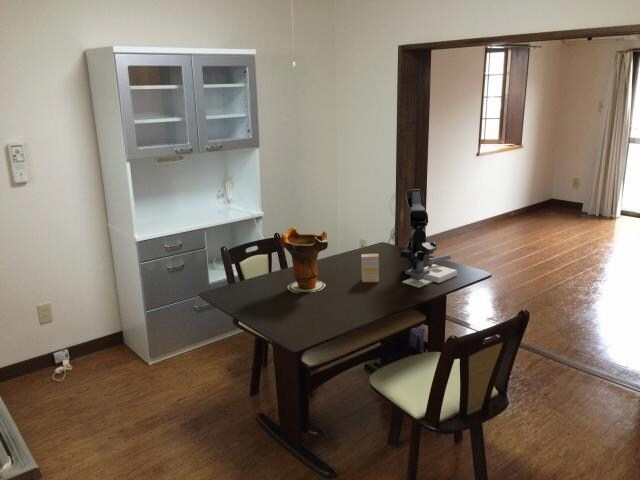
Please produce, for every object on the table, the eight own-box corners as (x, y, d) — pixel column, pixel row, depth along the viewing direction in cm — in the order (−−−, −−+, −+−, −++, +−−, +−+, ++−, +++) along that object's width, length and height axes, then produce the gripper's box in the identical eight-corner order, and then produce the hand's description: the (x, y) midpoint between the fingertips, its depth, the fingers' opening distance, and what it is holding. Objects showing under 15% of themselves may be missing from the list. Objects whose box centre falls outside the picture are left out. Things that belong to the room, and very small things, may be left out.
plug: (405, 278, 255) (405, 261, 253) (416, 274, 260) (416, 257, 258) (418, 282, 249) (418, 265, 247) (429, 278, 254) (429, 260, 252)
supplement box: (379, 279, 262) (378, 253, 259) (379, 282, 258) (378, 256, 254) (361, 279, 263) (361, 253, 259) (361, 282, 258) (361, 256, 255)
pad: (402, 283, 256) (402, 281, 256) (415, 277, 262) (415, 276, 262) (418, 288, 248) (418, 286, 248) (432, 282, 255) (432, 281, 254)
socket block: (415, 276, 263) (415, 270, 262) (433, 269, 272) (433, 264, 271) (439, 283, 253) (439, 277, 252) (456, 276, 262) (457, 270, 261)
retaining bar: (429, 266, 267) (429, 259, 266) (427, 265, 268) (427, 258, 267) (450, 262, 272) (451, 255, 271) (448, 261, 274) (448, 254, 273)
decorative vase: (328, 294, 244) (322, 234, 237) (279, 295, 249) (272, 236, 242) (336, 279, 264) (331, 223, 256) (290, 280, 268) (284, 225, 261)
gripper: (418, 243, 237) (418, 277, 242) (444, 234, 249) (443, 267, 253) (399, 239, 245) (399, 271, 250) (425, 230, 257) (424, 262, 261)
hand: (417, 268), depth 253 cm, fingers closed on plug, 4 cm apart
